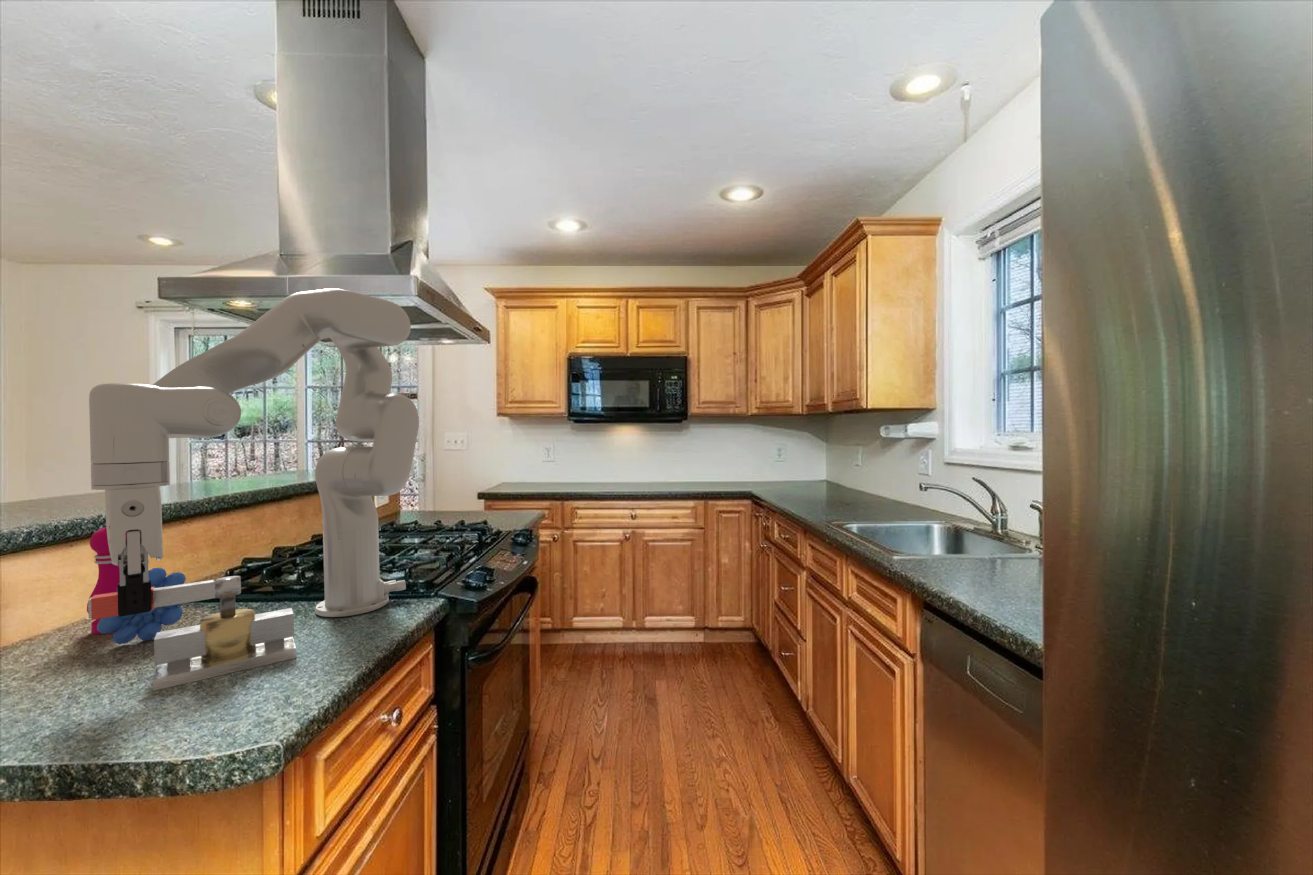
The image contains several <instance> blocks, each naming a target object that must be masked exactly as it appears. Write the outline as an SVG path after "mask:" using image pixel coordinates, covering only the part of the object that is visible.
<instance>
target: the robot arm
mask: <svg viewBox="0 0 1313 875" xmlns="http://www.w3.org/2000/svg"><path fill="white" fill-rule="evenodd" d="M411 327H412V326H411V320H410V317H409V315H408V313H407V312H406V311H405V310H404V309H403V307H402V306H400V305H398V303H394V301H390V300H386V299H383V298H378V297H375V296H371V295H368V294H364V293H363V294H362V293H359V292H356V291H351V290H349V289H347V290H346V289H342V288H333V287H332V288H323V289H315V290H313V289H312V290H306V291H305V290H304V291H298V292H294V293H291V294H289V295H288V296H286V297H284V298H283V299H282V300H280V301H279V302H278V303H276V304H275V305H274V306H273V307H271V308H270V309H269V310H268V311H267V312H264V314H263V315H261V316H260V317H259V318H258V319H256V320H255V321H253V322H252V323H250V325H248V326H247V327H246V328H245V329H243V330H241V331H240V332H239V333H238V334H236V335H234V336H232V337H230V338H229V339H227V340H225V341H223V342H220V343H219V344H216V345H215V346H213V347H211V348H209V349H207V350H206V351H204V352H201V353H200V354H198V355H195V356H194V357H192V358H190V359H188V360H185V362H183V363H181V364H179V365H177V366H176V367H175V368H173V369H172V370H170V371H169V372H168V373H166V374H164V375H163V376H162V377H161V378H159V379H158V380H157V381H156V382H154V383H152V384H146V383H145V384H144V383H131V382H130V383H128V382H127V383H125V382H121V383H120V382H119V383H118V382H113V383H110V382H109V383H101V384H98V385H95V386H93V387H92V388H91V390H90V391H89V395H88V396H89V398H88V406H89V407H88V408H89V409H88V410H89V445H90V446H89V449H90V451H89V452H90V485H91V487H90V488H91V490H92V491H93V490H95V491H100V490H101V491H104V501H105V502H104V504H105V505H104V506H105V527H107V538H108V545H109V551H110V556H111V560H112V564H114V565H117V566H118V564H119V568H120V584H118V586H117V590H118V615H119V616H121V617H122V616H128V615H133V614H139V613H144V612H149V611H151V609H152V602H151V580H149V575H148V571H149V564H150V563H149V558H151V559H154V558H155V559H156V561H160V560H162V559H163V558H164V543H163V514H162V513H163V510H162V496H161V490H160V487H165V486H170V484H171V482H170V481H171V478H170V477H171V473H170V443H169V442H170V439H187V438H188V439H207V438H215V437H219V436H223V435H225V434H227V433H229V432H230V431H232V430H233V429H234V428H236V426H237V425H238V424H239V422H240V421H241V416H242V408H241V405H240V404H239V401H238V399H236V398H235V396H233V395H232V393H234V392H237V391H239V390H243V389H245V388H248V387H252V386H253V385H258V384H261V383H264V382H268V381H270V380H272V379H274V378H277V377H279V376H283V374H285V373H287V372H288V371H289V370H290V369H291V368H292V367H293V366H294V365H295V364H296V363H297V362H299V360H300V359H302V357H304V356H305V355H306V354H307V353H308V352H309V351H310V350H311V349H312V348H313V347H315V346H316V345H317V344H318V343H319V342H320V341H322V340H324V339H330V340H331V341H332V343H333V344H334V345H335V347H336V348H337V350H338V352H339V353H340V355H341V357H342V359H343V361H344V364H345V376H344V383H343V387H342V391H341V395H340V399H339V404H338V408H337V413H336V418H335V419H336V420H335V427H336V431H337V432H338V434H339V436H340V437H342V438H344V439H345V440H348V441H353V442H367V443H368V442H373V443H372V446H341V447H335V448H332V449H330V450H327V452H325V453H323V455H321V456H320V458H319V459H318V460H317V463H316V465H315V469H314V477H315V483H316V486H317V491H318V494H319V499H320V505H321V512H322V513H321V514H322V515H321V518H322V537H323V538H322V545H323V546H322V547H323V549H322V550H323V581H324V582H323V586H324V587H323V588H324V600H323V601H320V602H318V603H317V604H316V605H315V606H314V607H315V609H314V611H315V614H316V615H317V616H320V617H325V618H343V617H351V616H357V615H362V614H367V613H370V612H374V611H376V610H378V609H381V608H383V607H384V606H386V605H387V604H388V603H389V602H390V599H389V594H390V593H391V592H399V591H404V590H406V589H407V583H406V582H407V581H405V579H402V580H397V581H396V579H393V580H388V581H384V580H383V579H381V577H380V574H381V573H380V545H379V544H380V543H379V542H380V540H379V539H380V538H379V537H380V536H379V516H378V510H377V506H376V505H375V502H374V499H373V497H388V496H393V495H395V494H398V493H399V492H401V491H402V490H403V488H405V486H406V484H407V482H408V480H409V478H410V475H411V471H412V466H413V460H414V454H415V450H416V445H417V440H418V434H419V427H420V418H419V413H418V409H417V407H416V405H415V403H414V402H413V401H412V399H410V398H409V397H408V396H407V395H403V394H402V393H401V394H400V393H395V392H394V393H393V392H392V393H391V390H392V384H393V372H392V368H391V366H390V363H389V362H388V360H387V358H385V356H384V354H383V353H382V351H381V350H380V348H381V347H383V348H384V347H392V346H393V347H394V346H398V345H400V344H402V343H404V342H405V341H406V340H407V339H408V337H409V336H410V334H411V331H412V330H411ZM379 347H380V348H379ZM126 532H127V539H126ZM123 557H124V559H123ZM125 576H126V577H125ZM125 579H126V580H125Z"/></svg>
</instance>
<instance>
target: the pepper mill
mask: <svg viewBox="0 0 1313 875" xmlns="http://www.w3.org/2000/svg"><path fill="white" fill-rule="evenodd" d="M126 539H127V532H126ZM89 547H90V548H91V550H93V551H94V553H96V555H94V559H95V560H94V564H96V565H97V568H98V577H97V581H96V584H95V586H94V588H93V590H92V591H91V594H90V595H89V598H88V600H89V599H90V598H91V597H93V596H94V595H100V594H107V593H114V592H117V586H118V584H119V583H120V568H119V564H118V566H117V565H114V564H112V560H111V556H110V551H109V545H108V538H107V527H106V526H105V527H104V526H103V527H101V528H99V529H98V530H96V531H95V532H94V533H93V534H91V536H90V539H89ZM123 559H124V557H123ZM125 577H126V576H125ZM86 613H88V602H87V603H86ZM101 619H102V618H100V619H94V620H92V622H91V624H90V625H91V633H92V634H94V635H103V634H102V633H100V632H99V631H98V630H97V625H98V623H99V621H100V620H101ZM115 631H116V630H115ZM115 631H114V632H112V633H111V634H114V633H115ZM106 634H108V633H106Z"/></svg>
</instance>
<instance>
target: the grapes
mask: <svg viewBox="0 0 1313 875" xmlns="http://www.w3.org/2000/svg"><path fill="white" fill-rule="evenodd" d="M148 575H149V580H151V587H155V588H160V587H167V586H174V585H181V584H185V582H186V579H187V578H186V575H185V574H184V573H182V572H179V571H178V572H172V573H169V575H167V571H166V569H165V568H162V567H153V568H151V569H148ZM125 580H126V579H125ZM119 584H120V583H119ZM117 592H118V590H117ZM185 604H186V603H181V604H175V605H169V606H163V607H157V608H154V610H151V611H149V612H144V613H139V614H133V615H128V616H122V617H121V616H112V617H106V618H102V619H101V620H100V621H99V623H98V625H97V630H98V631H99V632H100V633H102V634H101V635H104V634H106V633H107V634H113V635H112V641H113V642H114V643H116V644H118V645H123V644H127V643H129V642H130V641H132V640H133V639H135V638H136V637H137V638H139V639H140V640H141V641H151V640H154V639H155V636H156V634H157V632H162V629H163V626H172V625H174V624H175V623H177V622H178V621H180V620H181V619H182V617H183V614H184V610H183V609H182V608H181V606H183V605H185ZM115 630H116V631H115ZM114 631H115V632H114ZM112 632H114V633H112Z"/></svg>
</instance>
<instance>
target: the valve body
mask: <svg viewBox="0 0 1313 875" xmlns="http://www.w3.org/2000/svg"><path fill="white" fill-rule="evenodd" d="M255 612H256V610H255V609H251V608H239V609H236V595H235V596H231V597H226V598H219V612H216V613H212V614H209V615H206V616H205V617H203V618H201V619H200V621H199V624H196V625H190V626H186V627H178V628H174V629H169V630H163V631H162V630H161V631H160V632H157V634H156V636H155V637H154V638H153V646H154V648H153V651H154V655H153V656H154V666H155V667H156V669H155V672H154V675H153V678H152V692H154V691H155V692H156V691H159V690H163V689H168V688H172V687H176V686H180V685H185V684H189V683H193V682H199V681H202V680H207V679H210V678H211V679H212V678H216V677H219V676H223V675H228V674H229V675H230V674H232V673H237V672H240V671H245V670H248V669H249V670H251V669H254V668H259V667H263V666H267V665H271V664H275V663H280V662H284V661H285V662H286V661H288V660H293V659H296V658H297V647H296V644H295V641H294V637H295V622H294V621H295V619H294V618H295V617H294V615H295V614H294V611H293V608H292V607H289V608H288V607H287V608H283V609H278V610H273V611H268V612H267V611H266V612H262V613H257V614H256V613H255Z"/></svg>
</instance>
